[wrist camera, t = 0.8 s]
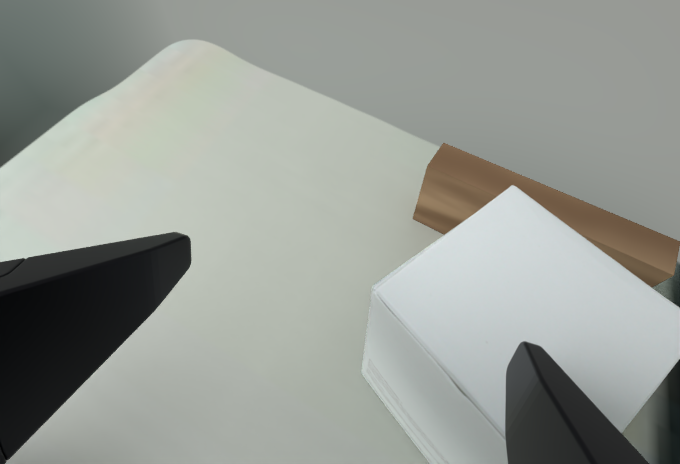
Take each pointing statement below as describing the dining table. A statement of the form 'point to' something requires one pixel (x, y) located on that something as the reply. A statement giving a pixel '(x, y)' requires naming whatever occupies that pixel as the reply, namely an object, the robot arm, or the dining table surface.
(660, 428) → the dining table surface
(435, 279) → the supplement box
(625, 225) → the board
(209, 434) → the dining table surface
